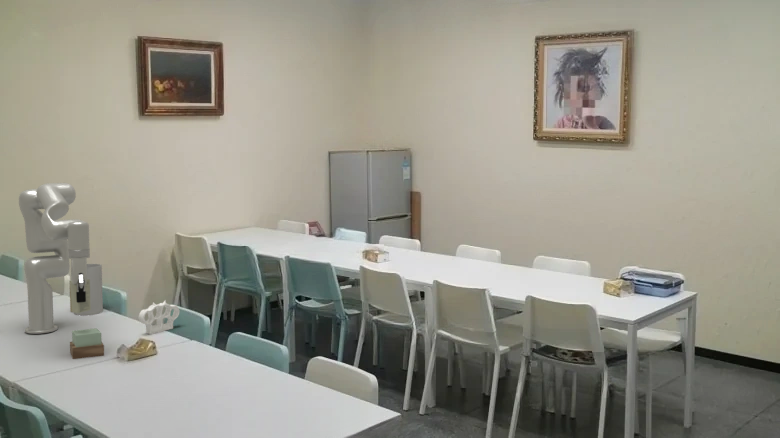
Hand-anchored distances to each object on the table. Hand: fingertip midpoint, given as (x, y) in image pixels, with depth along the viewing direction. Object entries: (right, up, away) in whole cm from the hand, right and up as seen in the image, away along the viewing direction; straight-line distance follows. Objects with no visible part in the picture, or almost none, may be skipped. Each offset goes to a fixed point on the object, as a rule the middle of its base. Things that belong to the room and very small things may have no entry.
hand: (80, 300), depth 287 cm
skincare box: (0, -5, 0) cm, 5 cm away
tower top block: (+2, -17, +2) cm, 17 cm away
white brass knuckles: (+20, -19, +34) cm, 43 cm away
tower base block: (+2, -21, +2) cm, 21 cm away
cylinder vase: (-22, -16, +64) cm, 69 cm away
